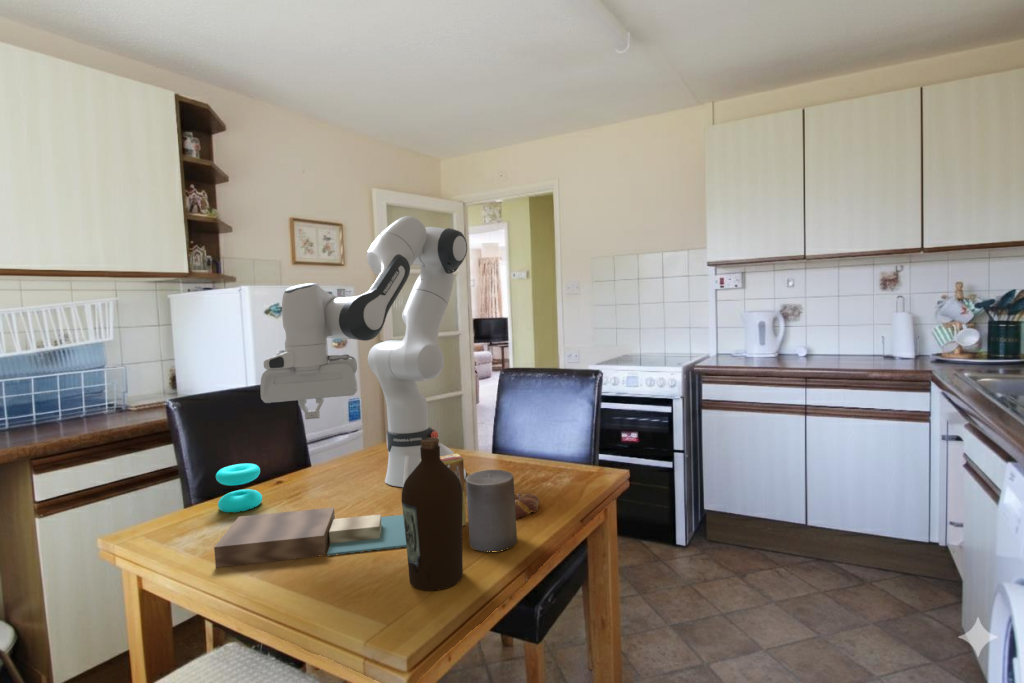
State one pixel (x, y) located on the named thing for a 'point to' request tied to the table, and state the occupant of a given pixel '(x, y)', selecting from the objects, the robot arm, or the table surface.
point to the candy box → (457, 467)
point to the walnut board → (275, 537)
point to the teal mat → (388, 539)
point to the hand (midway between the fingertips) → (312, 418)
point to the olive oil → (433, 521)
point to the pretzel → (525, 504)
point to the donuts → (239, 498)
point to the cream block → (355, 528)
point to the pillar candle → (491, 510)
